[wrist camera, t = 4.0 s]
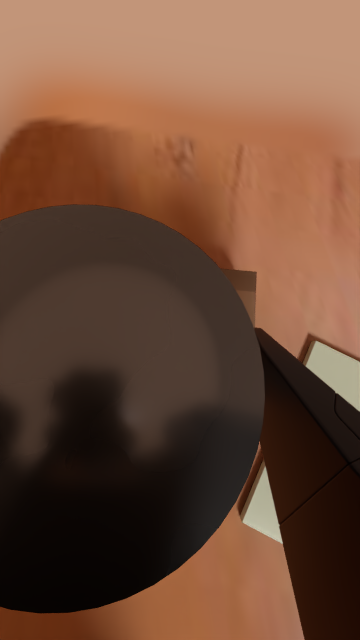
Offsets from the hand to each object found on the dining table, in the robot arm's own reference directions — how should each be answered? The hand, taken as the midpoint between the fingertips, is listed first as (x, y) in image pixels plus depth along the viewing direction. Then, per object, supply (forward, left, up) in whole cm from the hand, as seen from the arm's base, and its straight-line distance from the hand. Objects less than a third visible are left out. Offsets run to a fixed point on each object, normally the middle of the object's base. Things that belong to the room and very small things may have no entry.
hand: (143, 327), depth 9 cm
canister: (-1, -1, -7) cm, 7 cm away
